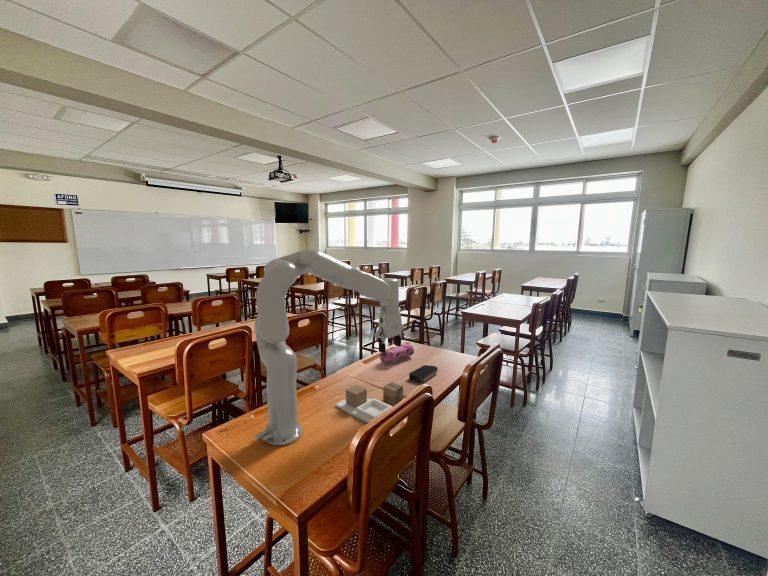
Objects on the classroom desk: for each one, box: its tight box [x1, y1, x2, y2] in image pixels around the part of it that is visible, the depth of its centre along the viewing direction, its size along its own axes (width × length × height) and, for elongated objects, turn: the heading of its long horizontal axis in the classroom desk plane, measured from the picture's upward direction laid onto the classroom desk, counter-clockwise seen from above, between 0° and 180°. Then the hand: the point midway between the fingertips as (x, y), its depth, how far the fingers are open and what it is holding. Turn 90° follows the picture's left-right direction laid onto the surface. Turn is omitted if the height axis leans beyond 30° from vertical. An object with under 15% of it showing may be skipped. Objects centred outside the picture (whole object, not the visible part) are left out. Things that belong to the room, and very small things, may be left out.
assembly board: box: [335, 384, 394, 424], centre depth 122 cm, size 12×22×7 cm, turn 49°
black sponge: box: [408, 364, 439, 383], centre depth 154 cm, size 16×8×4 cm, turn 141°
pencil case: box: [379, 341, 415, 367], centre depth 174 cm, size 21×9×9 cm, turn 138°
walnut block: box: [382, 381, 404, 405], centre depth 130 cm, size 6×6×6 cm
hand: (390, 348), depth 128 cm, fingers open, 9 cm apart
